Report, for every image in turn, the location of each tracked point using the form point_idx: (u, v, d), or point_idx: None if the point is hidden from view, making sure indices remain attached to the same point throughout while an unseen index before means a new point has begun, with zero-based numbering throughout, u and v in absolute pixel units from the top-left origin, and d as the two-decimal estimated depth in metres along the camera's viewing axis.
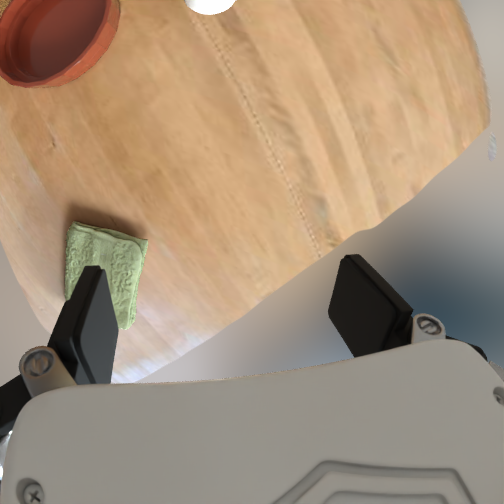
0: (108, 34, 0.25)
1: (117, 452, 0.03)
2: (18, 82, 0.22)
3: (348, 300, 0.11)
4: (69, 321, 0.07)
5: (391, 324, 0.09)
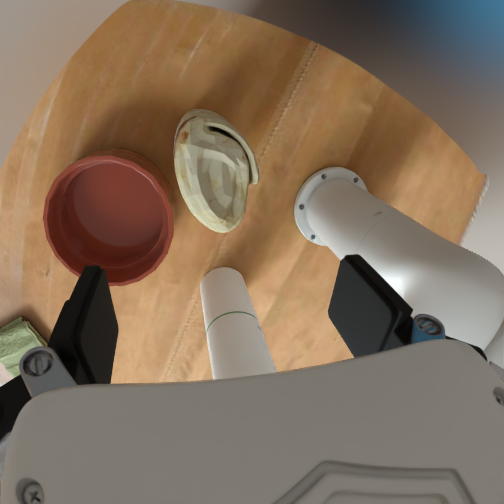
0: None
1: (117, 452, 0.03)
2: (52, 245, 0.32)
3: (348, 300, 0.11)
4: (69, 321, 0.07)
5: (391, 324, 0.09)
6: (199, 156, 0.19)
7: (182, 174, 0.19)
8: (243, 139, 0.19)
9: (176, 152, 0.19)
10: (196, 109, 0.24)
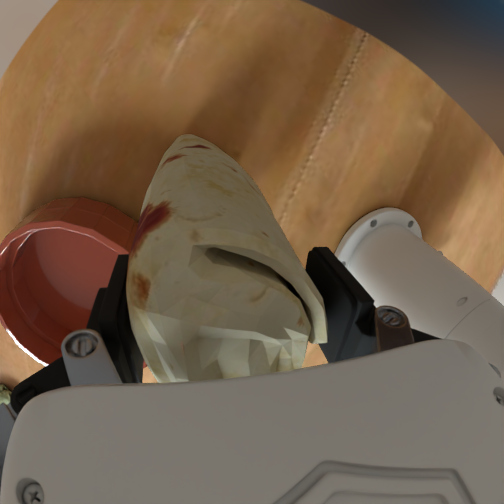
0: None
1: (117, 452, 0.03)
2: (11, 334, 0.21)
3: None
4: (111, 304, 0.08)
5: (352, 315, 0.09)
6: (189, 342, 0.07)
7: (154, 366, 0.08)
8: (303, 279, 0.07)
9: (130, 315, 0.07)
10: (182, 154, 0.12)
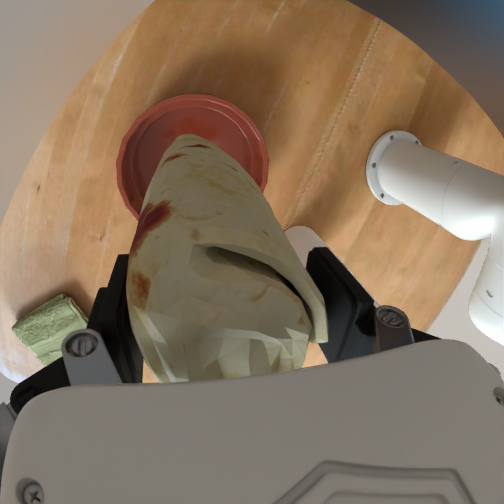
0: None
1: (117, 452, 0.03)
2: (124, 194, 0.31)
3: None
4: (111, 304, 0.08)
5: (352, 315, 0.09)
6: (189, 341, 0.07)
7: (154, 366, 0.07)
8: (304, 278, 0.07)
9: (130, 314, 0.07)
10: (182, 153, 0.12)
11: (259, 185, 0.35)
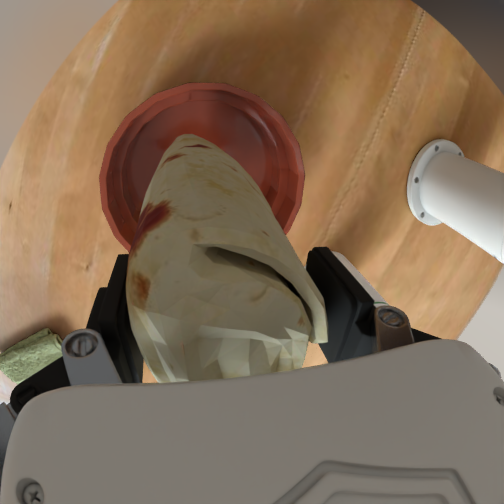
0: None
1: (117, 452, 0.03)
2: (112, 220, 0.23)
3: None
4: (111, 304, 0.08)
5: (352, 315, 0.09)
6: (189, 342, 0.07)
7: (154, 366, 0.07)
8: (304, 278, 0.07)
9: (130, 314, 0.07)
10: (182, 153, 0.12)
11: (291, 207, 0.26)
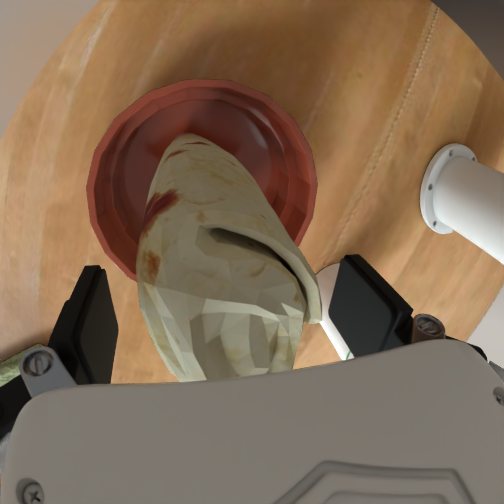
0: None
1: (117, 452, 0.03)
2: (101, 235, 0.20)
3: (348, 300, 0.11)
4: (69, 321, 0.07)
5: (391, 324, 0.09)
6: (194, 315, 0.08)
7: (161, 342, 0.08)
8: (298, 257, 0.08)
9: (139, 293, 0.08)
10: (184, 149, 0.13)
11: (301, 220, 0.24)
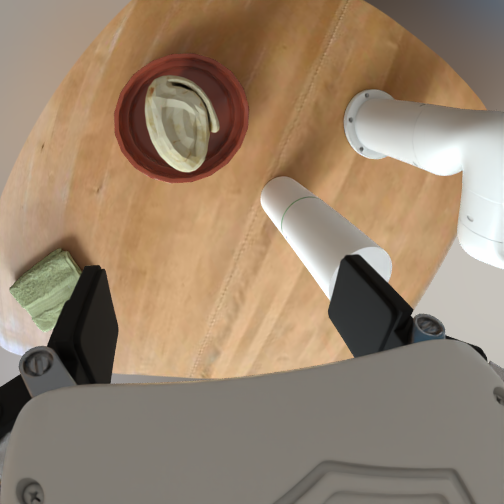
0: None
1: (117, 452, 0.03)
2: (120, 140, 0.33)
3: (348, 300, 0.11)
4: (69, 321, 0.07)
5: (391, 324, 0.09)
6: (163, 105, 0.20)
7: (150, 122, 0.21)
8: (200, 90, 0.21)
9: (145, 105, 0.21)
10: None
11: (241, 130, 0.37)
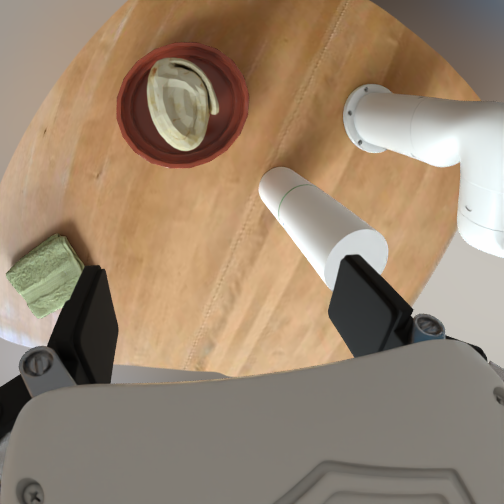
0: None
1: (117, 452, 0.03)
2: (122, 125, 0.33)
3: (348, 300, 0.11)
4: (69, 321, 0.07)
5: (391, 324, 0.09)
6: (165, 84, 0.20)
7: (152, 100, 0.21)
8: (201, 71, 0.21)
9: (147, 85, 0.21)
10: None
11: (241, 118, 0.37)
